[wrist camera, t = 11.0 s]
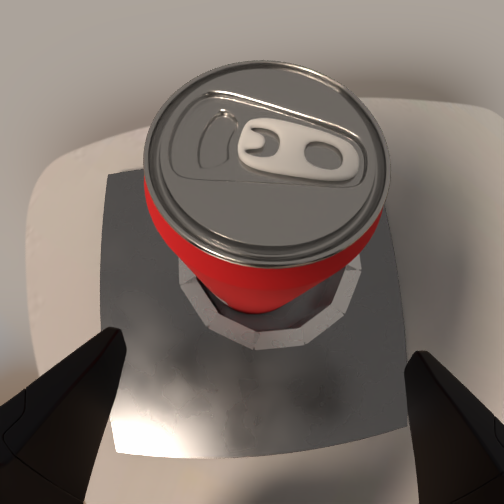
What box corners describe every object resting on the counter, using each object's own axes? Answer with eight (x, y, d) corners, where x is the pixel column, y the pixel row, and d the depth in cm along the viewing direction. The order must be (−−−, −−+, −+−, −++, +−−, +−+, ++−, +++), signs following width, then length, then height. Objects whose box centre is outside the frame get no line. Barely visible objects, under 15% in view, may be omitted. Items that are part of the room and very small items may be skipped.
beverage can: (219, 216, 17) (182, 45, 6) (306, 233, 17) (394, 84, 6) (197, 304, 16) (91, 246, 5) (291, 323, 16) (396, 309, 4)
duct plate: (400, 422, 15) (431, 438, 12) (122, 446, 15) (96, 469, 11) (366, 164, 20) (388, 132, 16) (113, 181, 19) (89, 152, 15)
